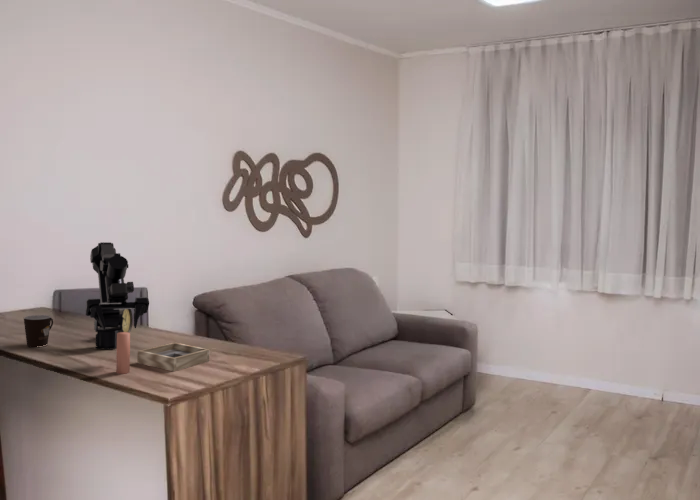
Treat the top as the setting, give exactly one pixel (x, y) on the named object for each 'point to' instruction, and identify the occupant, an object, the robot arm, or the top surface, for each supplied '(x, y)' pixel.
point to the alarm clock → (126, 320)
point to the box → (173, 356)
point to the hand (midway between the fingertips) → (120, 328)
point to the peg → (123, 353)
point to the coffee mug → (37, 329)
